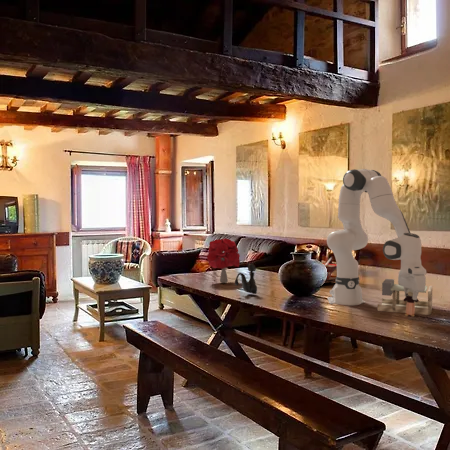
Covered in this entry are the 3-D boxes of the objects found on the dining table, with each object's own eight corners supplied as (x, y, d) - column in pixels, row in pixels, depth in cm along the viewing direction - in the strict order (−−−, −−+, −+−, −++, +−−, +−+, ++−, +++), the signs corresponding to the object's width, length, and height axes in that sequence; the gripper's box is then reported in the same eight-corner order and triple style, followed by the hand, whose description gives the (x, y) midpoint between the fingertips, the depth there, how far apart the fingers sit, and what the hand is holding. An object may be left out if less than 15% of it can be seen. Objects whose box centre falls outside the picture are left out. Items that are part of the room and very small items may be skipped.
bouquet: (200, 281, 334) (200, 238, 333) (227, 278, 349) (226, 236, 348) (220, 285, 318) (220, 239, 317) (247, 281, 333) (247, 237, 332)
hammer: (382, 295, 238) (382, 282, 238) (385, 290, 251) (385, 278, 251) (425, 298, 230) (425, 285, 230) (427, 293, 242) (427, 281, 242)
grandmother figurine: (402, 316, 226) (402, 288, 225) (402, 314, 229) (402, 287, 229) (420, 317, 223) (420, 289, 223) (419, 315, 227) (419, 288, 226)
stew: (321, 278, 346) (321, 255, 345) (349, 282, 327) (349, 258, 327) (294, 282, 329) (294, 258, 328) (321, 287, 310) (321, 261, 309)
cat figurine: (231, 293, 288) (230, 263, 287) (250, 291, 295) (250, 261, 295) (240, 296, 280) (240, 264, 279) (260, 293, 287) (259, 263, 286)
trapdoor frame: (377, 310, 238) (377, 288, 237) (382, 304, 254) (382, 283, 253) (430, 315, 228) (430, 291, 227) (432, 307, 243) (432, 285, 243)
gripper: (394, 265, 236) (394, 294, 236) (414, 271, 215) (414, 302, 216) (407, 265, 236) (407, 294, 237) (428, 271, 216) (428, 302, 216)
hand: (410, 298), depth 226 cm, fingers open, 6 cm apart
